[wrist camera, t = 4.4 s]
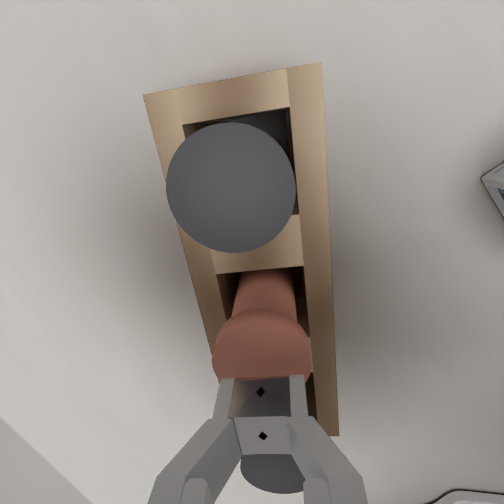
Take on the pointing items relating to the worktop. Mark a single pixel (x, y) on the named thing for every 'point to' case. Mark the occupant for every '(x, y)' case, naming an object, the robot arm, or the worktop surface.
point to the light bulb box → (496, 186)
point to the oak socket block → (297, 228)
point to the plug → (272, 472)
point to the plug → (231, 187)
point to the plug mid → (263, 330)
